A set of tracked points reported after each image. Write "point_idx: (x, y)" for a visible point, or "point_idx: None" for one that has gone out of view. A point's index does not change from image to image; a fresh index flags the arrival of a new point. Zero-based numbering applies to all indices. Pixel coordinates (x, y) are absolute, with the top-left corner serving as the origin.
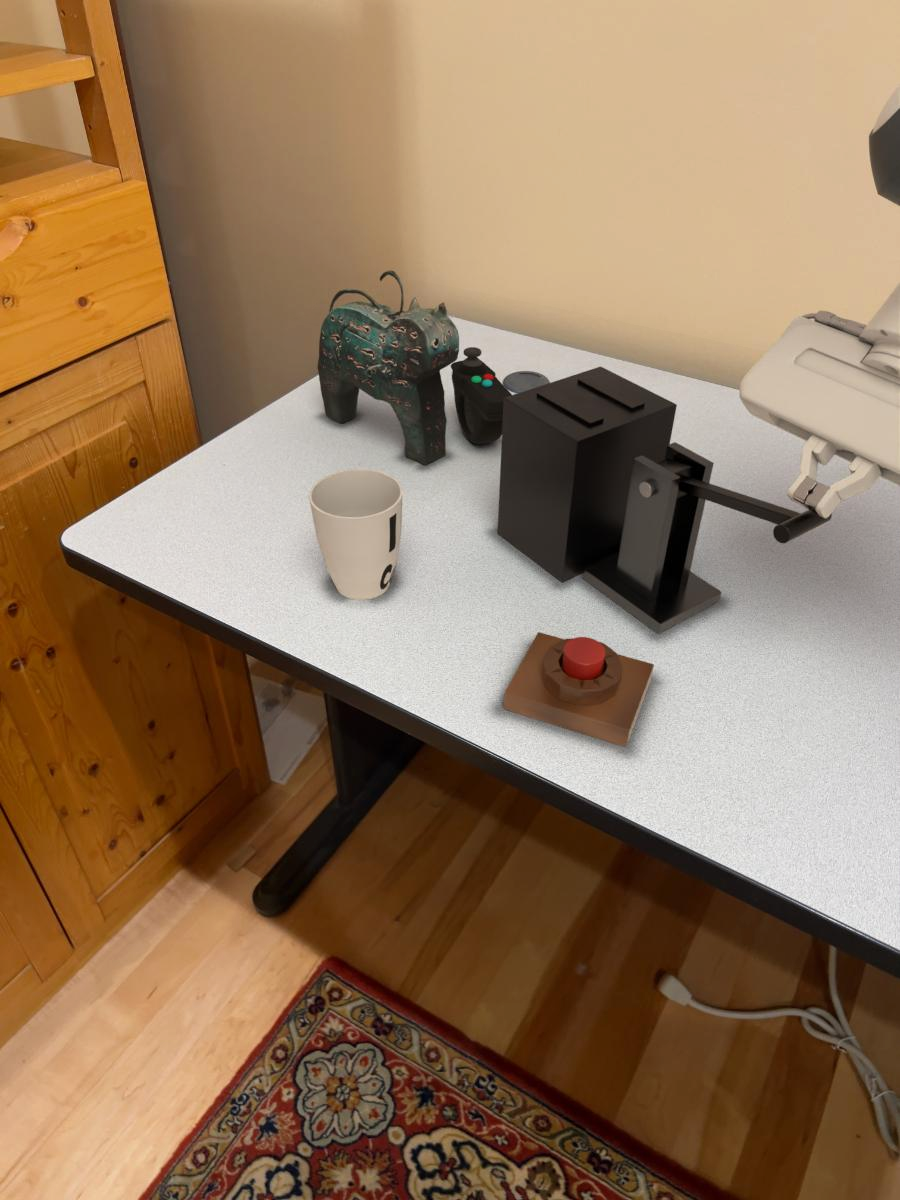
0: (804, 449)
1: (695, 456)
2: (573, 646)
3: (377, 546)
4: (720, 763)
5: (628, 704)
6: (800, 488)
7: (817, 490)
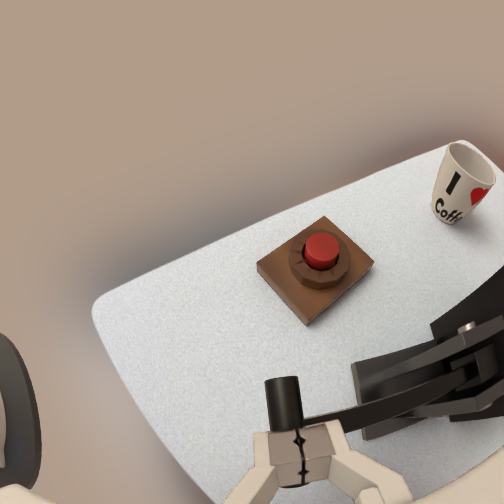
0: (393, 476)
1: (493, 393)
2: (329, 241)
3: (443, 176)
4: (211, 317)
5: (278, 276)
6: (321, 433)
7: (290, 450)
